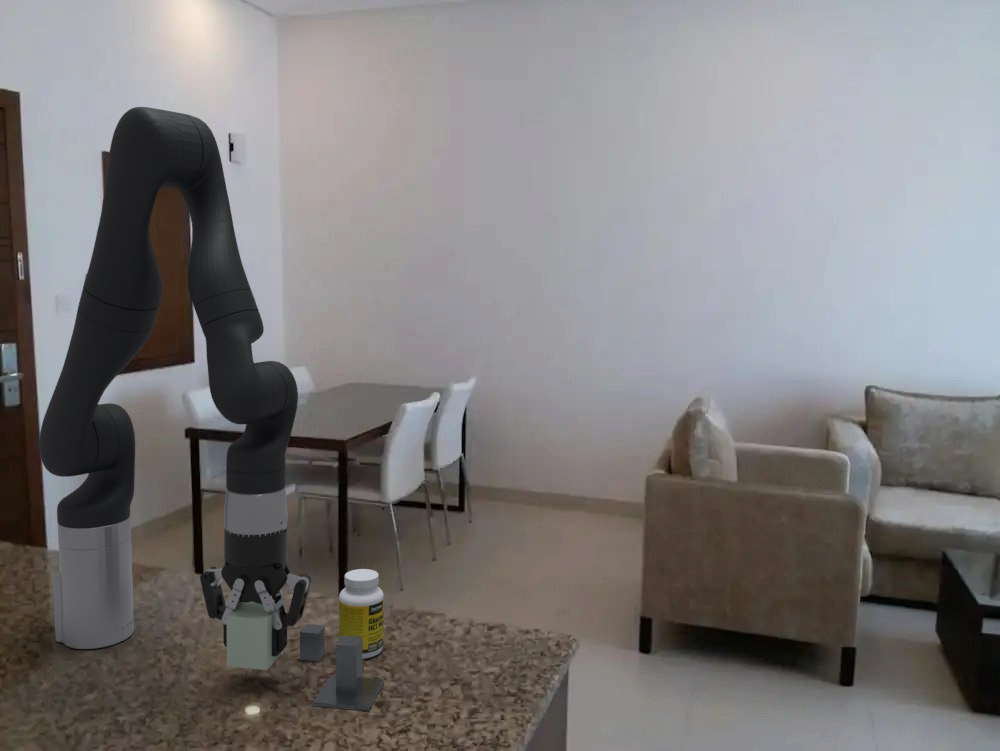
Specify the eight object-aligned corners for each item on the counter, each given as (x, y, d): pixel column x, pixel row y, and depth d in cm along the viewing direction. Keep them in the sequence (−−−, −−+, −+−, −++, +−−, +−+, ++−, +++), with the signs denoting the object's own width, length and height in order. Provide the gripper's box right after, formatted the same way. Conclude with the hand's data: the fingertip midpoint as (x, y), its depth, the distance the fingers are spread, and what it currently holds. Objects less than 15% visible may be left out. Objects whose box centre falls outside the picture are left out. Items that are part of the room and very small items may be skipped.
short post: (299, 660, 113) (299, 632, 112) (306, 651, 115) (306, 624, 115) (318, 661, 113) (318, 633, 112) (324, 653, 115) (324, 625, 115)
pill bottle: (374, 663, 113) (374, 584, 111) (331, 657, 114) (331, 580, 113) (389, 643, 119) (390, 568, 117) (348, 638, 120) (348, 564, 119)
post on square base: (312, 705, 101) (312, 651, 100) (331, 678, 108) (331, 627, 107) (368, 710, 100) (368, 655, 99) (383, 682, 107) (384, 631, 106)
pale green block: (226, 666, 103) (226, 615, 103) (244, 647, 109) (244, 599, 108) (266, 670, 103) (267, 619, 102) (282, 651, 108) (283, 602, 107)
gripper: (186, 527, 100) (187, 660, 103) (301, 536, 99) (299, 671, 101) (214, 509, 108) (214, 633, 110) (321, 517, 106) (319, 643, 108)
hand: (255, 651), depth 106 cm, fingers closed on pale green block, 5 cm apart
